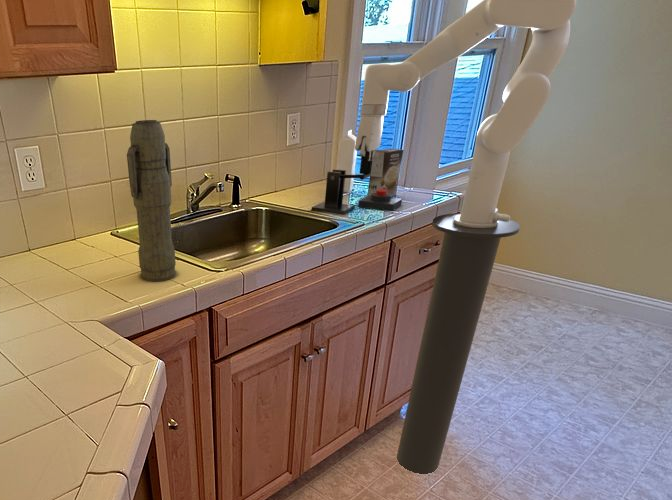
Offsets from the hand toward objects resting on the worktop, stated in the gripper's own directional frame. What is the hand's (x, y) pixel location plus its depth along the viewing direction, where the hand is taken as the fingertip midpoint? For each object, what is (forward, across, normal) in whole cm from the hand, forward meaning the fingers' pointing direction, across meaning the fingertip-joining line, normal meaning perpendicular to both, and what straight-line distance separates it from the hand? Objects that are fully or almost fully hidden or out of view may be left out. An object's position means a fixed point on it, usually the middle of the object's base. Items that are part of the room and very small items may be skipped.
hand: (365, 173), depth 162 cm
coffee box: (+13, -28, -3) cm, 31 cm away
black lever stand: (+13, 0, -10) cm, 16 cm away
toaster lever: (+2, 0, -5) cm, 6 cm away
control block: (+13, -12, +2) cm, 18 cm away
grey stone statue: (+13, +81, -20) cm, 84 cm away
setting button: (+9, -12, +2) cm, 15 cm away
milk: (+13, -30, -19) cm, 38 cm away
